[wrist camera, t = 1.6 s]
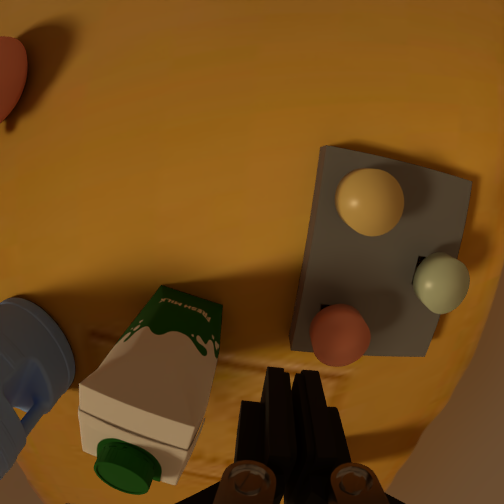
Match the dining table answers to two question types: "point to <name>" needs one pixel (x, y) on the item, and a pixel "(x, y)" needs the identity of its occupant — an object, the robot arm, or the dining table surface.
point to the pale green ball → (441, 282)
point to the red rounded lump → (339, 335)
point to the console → (378, 253)
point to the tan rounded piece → (369, 201)
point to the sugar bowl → (11, 74)
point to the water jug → (29, 372)
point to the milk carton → (152, 392)
